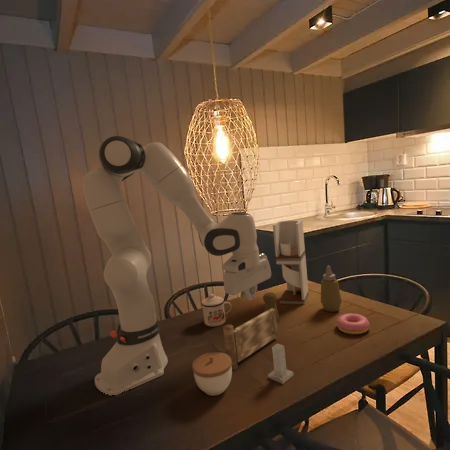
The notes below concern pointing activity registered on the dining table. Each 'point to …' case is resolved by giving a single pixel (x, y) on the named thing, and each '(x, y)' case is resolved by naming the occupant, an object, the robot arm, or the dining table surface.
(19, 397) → the dining table surface
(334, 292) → the squeeze bottle
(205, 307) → the teacup with lid
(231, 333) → the hinge post
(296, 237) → the tiered white shelf
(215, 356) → the lidded jar
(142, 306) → the robot arm
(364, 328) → the doughnut
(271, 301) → the cork
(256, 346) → the wooden panel
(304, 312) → the dining table surface
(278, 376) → the stop post
